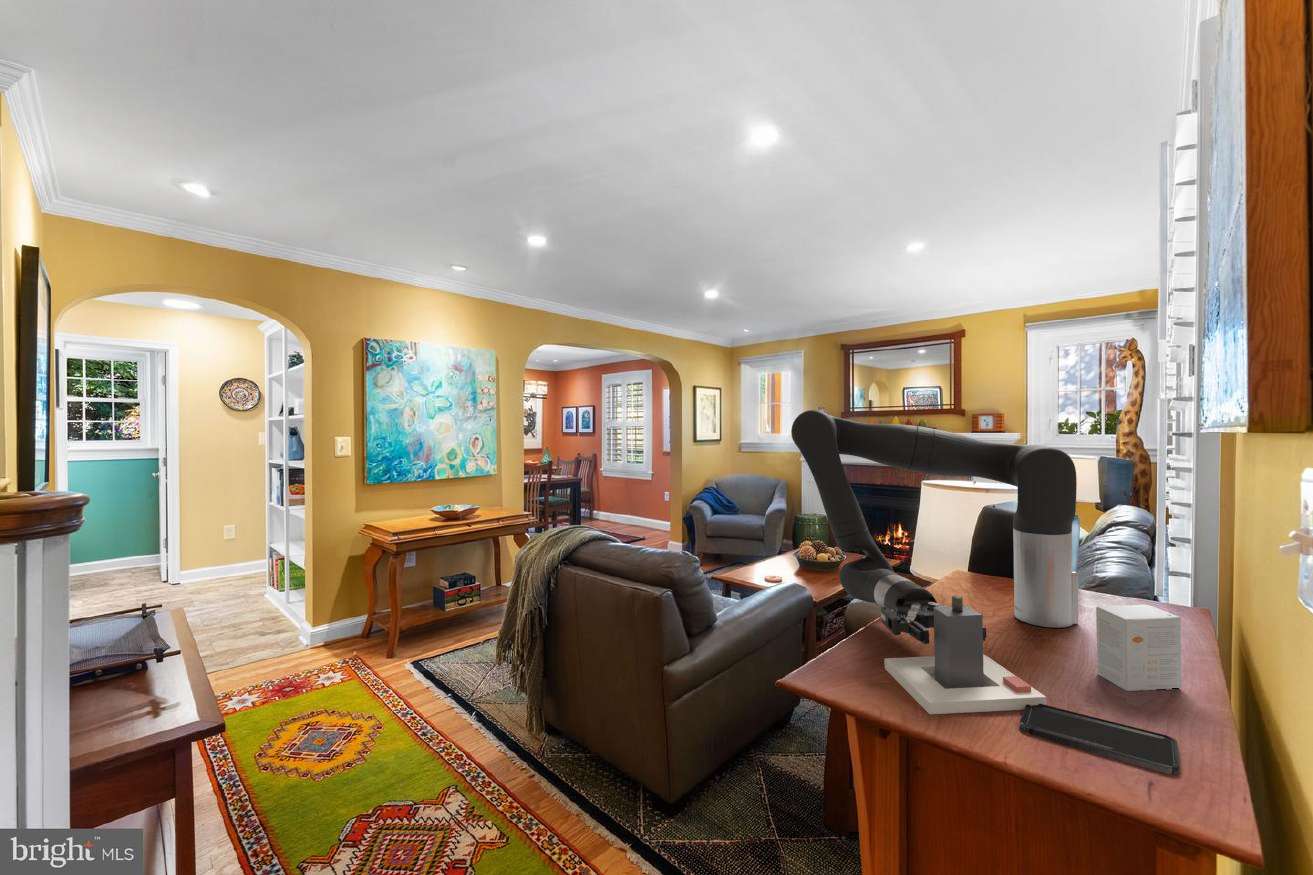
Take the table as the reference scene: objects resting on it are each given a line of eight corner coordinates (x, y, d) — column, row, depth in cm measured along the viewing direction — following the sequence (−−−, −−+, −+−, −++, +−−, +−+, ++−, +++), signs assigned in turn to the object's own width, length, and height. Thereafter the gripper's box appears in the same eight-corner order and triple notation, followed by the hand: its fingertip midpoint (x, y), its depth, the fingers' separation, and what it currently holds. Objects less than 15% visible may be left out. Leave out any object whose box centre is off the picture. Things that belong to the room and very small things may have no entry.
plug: (967, 677, 85) (966, 592, 85) (983, 690, 81) (982, 600, 81) (935, 679, 85) (933, 593, 84) (949, 692, 81) (947, 602, 80)
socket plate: (983, 663, 90) (983, 648, 90) (1046, 708, 76) (1046, 690, 76) (884, 668, 90) (884, 653, 90) (929, 714, 76) (929, 696, 76)
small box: (1148, 672, 85) (1148, 603, 85) (1182, 690, 80) (1182, 616, 79) (1095, 674, 85) (1094, 605, 85) (1125, 692, 80) (1125, 618, 80)
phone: (1027, 700, 77) (1177, 737, 67) (1028, 708, 77) (1177, 746, 67) (1017, 725, 71) (1179, 770, 61) (1018, 734, 71) (1180, 780, 61)
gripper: (863, 582, 100) (907, 613, 83) (942, 578, 100) (1001, 608, 84) (864, 623, 100) (908, 663, 84) (943, 619, 100) (1002, 658, 84)
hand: (955, 636), depth 84 cm, fingers open, 8 cm apart
